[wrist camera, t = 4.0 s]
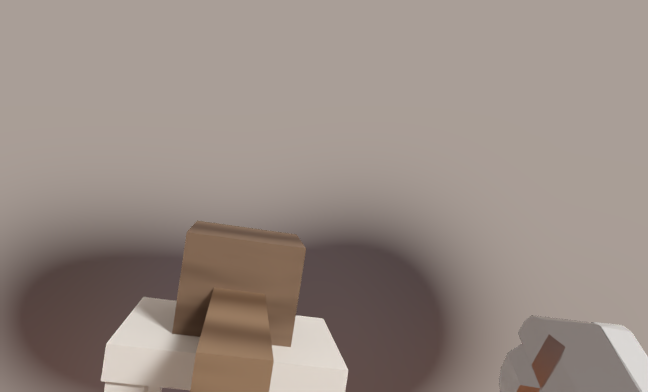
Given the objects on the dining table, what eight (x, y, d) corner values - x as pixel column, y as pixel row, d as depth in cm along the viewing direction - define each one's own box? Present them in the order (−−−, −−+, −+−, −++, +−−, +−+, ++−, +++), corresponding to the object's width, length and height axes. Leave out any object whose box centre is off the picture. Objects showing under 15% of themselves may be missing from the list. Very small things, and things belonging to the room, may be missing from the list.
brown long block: (312, 440, 23) (335, 291, 23) (131, 424, 22) (154, 268, 22) (283, 317, 42) (296, 234, 42) (184, 305, 41) (197, 220, 41)
